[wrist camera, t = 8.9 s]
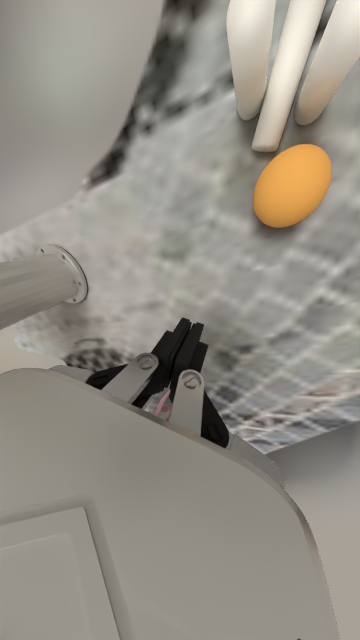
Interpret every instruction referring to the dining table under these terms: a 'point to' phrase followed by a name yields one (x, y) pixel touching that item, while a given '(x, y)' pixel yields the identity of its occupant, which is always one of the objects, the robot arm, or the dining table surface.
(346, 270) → the dining table surface
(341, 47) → the pin
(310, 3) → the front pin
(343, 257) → the dining table surface
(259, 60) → the pin
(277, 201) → the ball
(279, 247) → the dining table surface
